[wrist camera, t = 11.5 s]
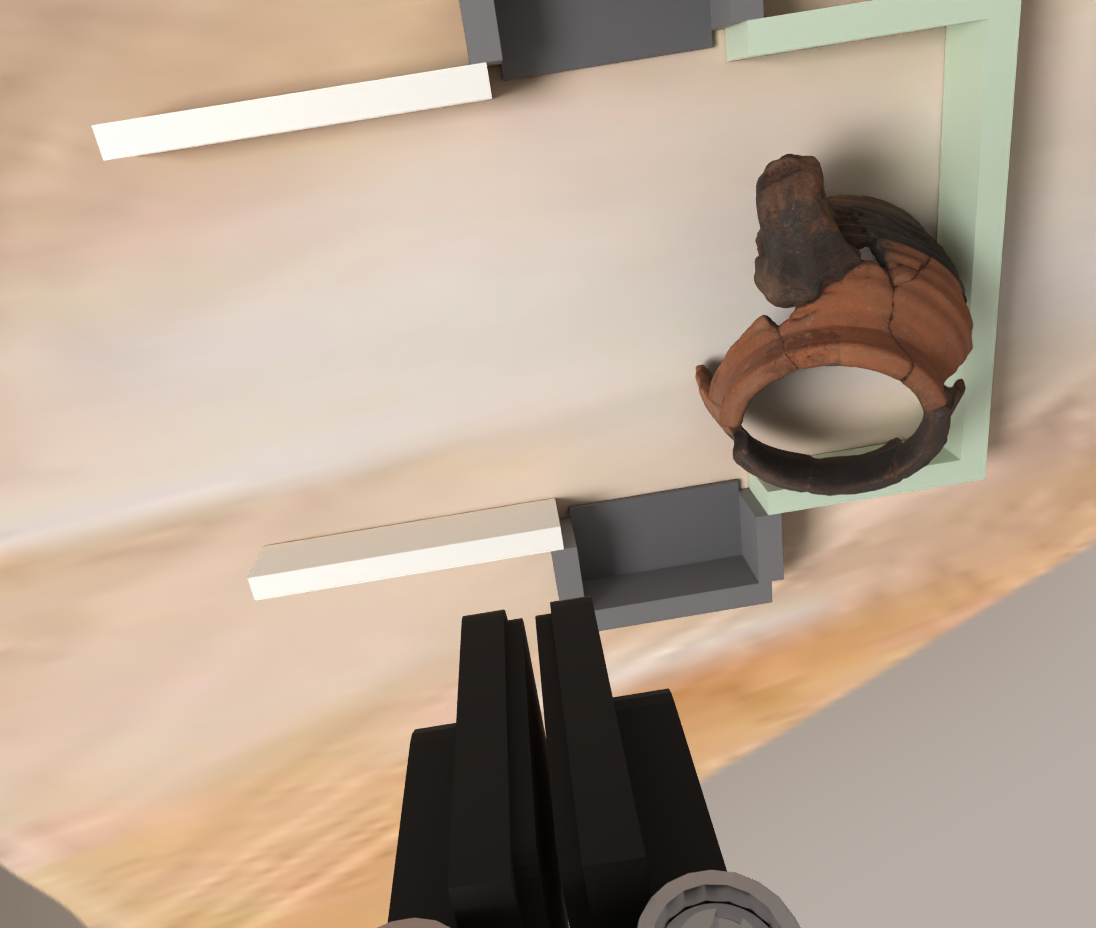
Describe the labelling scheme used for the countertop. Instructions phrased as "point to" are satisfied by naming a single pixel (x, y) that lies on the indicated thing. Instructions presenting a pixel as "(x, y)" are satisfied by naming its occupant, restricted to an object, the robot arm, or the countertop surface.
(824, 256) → the pottery mug
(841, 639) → the countertop surface
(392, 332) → the countertop surface
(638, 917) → the robot arm
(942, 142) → the pale green flat frame
